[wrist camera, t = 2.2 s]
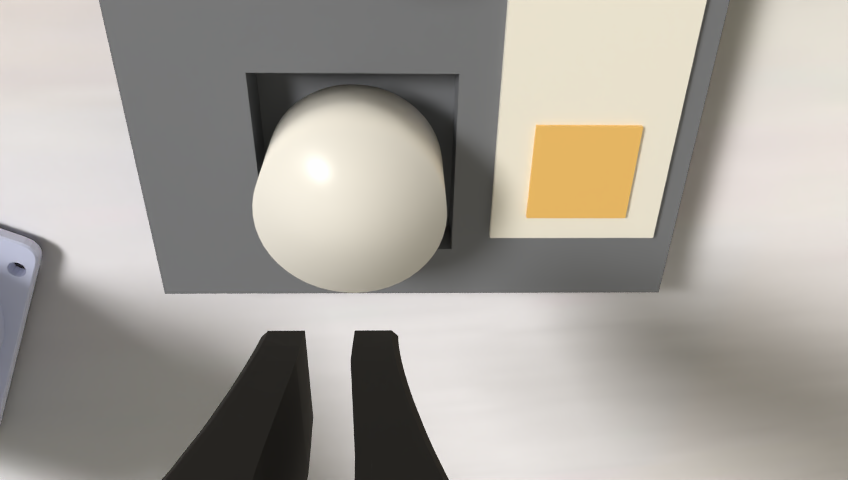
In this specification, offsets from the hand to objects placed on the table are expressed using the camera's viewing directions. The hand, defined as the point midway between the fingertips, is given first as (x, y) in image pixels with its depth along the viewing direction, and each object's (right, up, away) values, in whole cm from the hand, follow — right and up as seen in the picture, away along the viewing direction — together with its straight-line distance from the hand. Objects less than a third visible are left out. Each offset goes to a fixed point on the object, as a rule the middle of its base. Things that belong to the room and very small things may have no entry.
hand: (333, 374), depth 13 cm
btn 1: (0, +4, +6) cm, 7 cm away
